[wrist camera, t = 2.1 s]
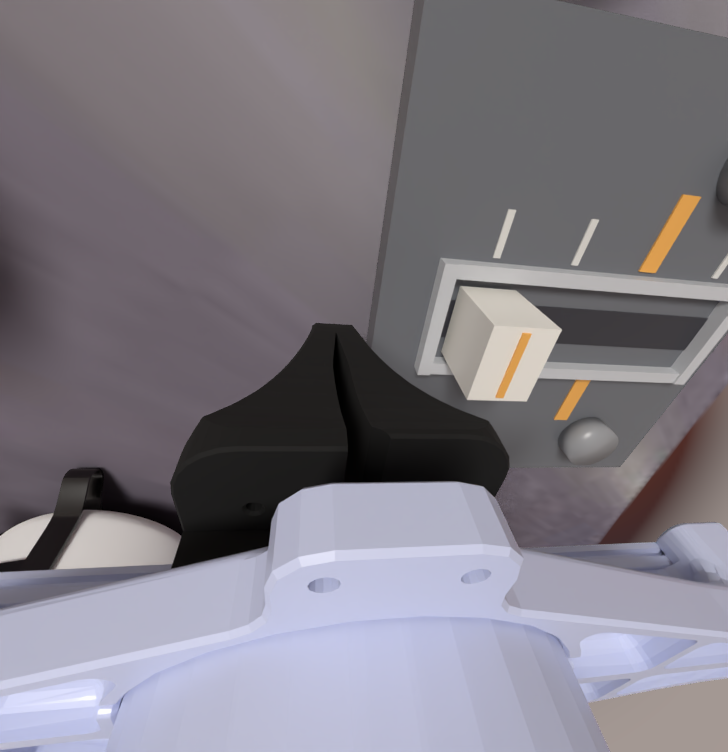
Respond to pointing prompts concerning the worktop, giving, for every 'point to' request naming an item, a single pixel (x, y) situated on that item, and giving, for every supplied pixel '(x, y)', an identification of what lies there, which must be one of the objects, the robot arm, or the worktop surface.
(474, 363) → the fader tab
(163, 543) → the coffee press
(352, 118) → the worktop surface
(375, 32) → the worktop surface
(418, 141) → the console panel
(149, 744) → the robot arm
